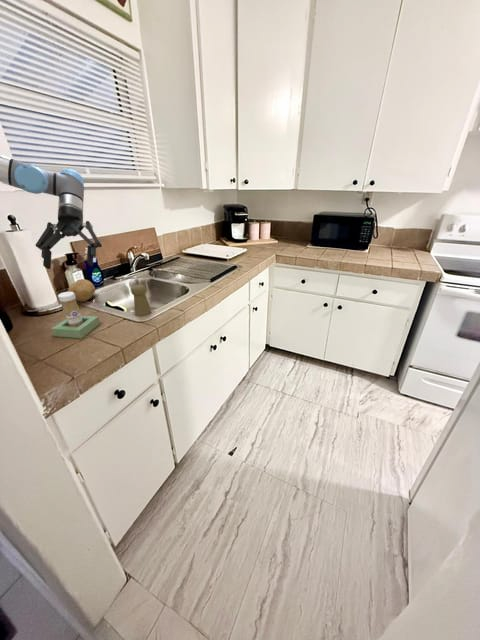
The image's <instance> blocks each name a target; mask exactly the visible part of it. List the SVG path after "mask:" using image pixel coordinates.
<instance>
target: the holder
mask: <svg viewBox="0 0 480 640" xmlns="http://www.w3.org/2000/svg"><path fill="white" fill-rule="evenodd" d="M81 317H82V321H83V324H81V325H80V326H79V327H69V324H68V322H67V320H66V318H65V319H64V320H62V321H60V322H59V323H57V324H56V325H54V326H53V327H51V332H52V334H53V336H54V337H58V338H59V337H60V338H73V339H83V338H84V337H85V336H87V335H88V334H89V333H90V332H92V331H93V330H95V328H97V327H98V326H99V325H100V324H101V322H100V318H99V316H97V315H96V316H95V315H82V314H81Z"/></svg>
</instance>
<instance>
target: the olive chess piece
mask: <svg viewBox="0 0 480 640" xmlns="http://www.w3.org/2000/svg"><path fill="white" fill-rule="evenodd" d="M130 291H131V294H132V295H133V304H134V305H133V306H134V315H135V316H138V317H142V316H147V315H149V314H150V313H152V309H151V307H150V303H149V301H148V298H147V295H146V294H147V288H146V286H145V285H143V284H136V285H133V286H132V287H131V289H130Z"/></svg>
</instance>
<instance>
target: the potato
mask: <svg viewBox="0 0 480 640" xmlns="http://www.w3.org/2000/svg"><path fill="white" fill-rule="evenodd" d="M67 292H74V294H75V297H76V298H75V299H76V302H82V303H84V302H86V301H88V300H90V299H92V298H93V296H94V294H95V293H96V287H95V285H94V284H93V282H91V281H90V280H89V279H84V278H80V279H78V280H76V281H74V282H73V283H71V284H70V285H69V287H67Z"/></svg>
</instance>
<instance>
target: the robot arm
mask: <svg viewBox="0 0 480 640" xmlns="http://www.w3.org/2000/svg"><path fill="white" fill-rule="evenodd" d="M0 182H2V183H1V184H4V185H7V186H10V187H14V188H17V189H20V190H22V191H25V192H27V193H31V194H35V195H39V194H42V193H43V194H46V195H51V196H54V197H58V205H57V208H58V209H57V223H52V222H50V221H48V222H47V224H46V228H45V230H44V231H43V232H42V234H41V235H40V237H39V239H37V241H36V243H35V244H34V246H35V247H36V248H37V249H39V250H40V251H41V258H42V259H43V261H42V263H43V267H45V268H46V269H47V270H51V268H52V254H53V253H52V251H51V249H52V248H53V247H55V246H56V245H57V244H58V243H59V242H60V241H61V240H62V239H65V237H77V236H79V237H80V238H82V240H83V241H85V243H87V244H88V245H87V246H86V247H87V248H86V264H87V265H88V266H89V267H91V268H93V267H94V258H95V257H97V248H102V247H103V245H102V243H101V241H100V240H99V238H98V237H97V235H96V233H95V231H94V229H93V228H94V227H93V224H92V223H91V222H90V220H86V221H85V222H84V199H85V197H84V195H85V185H84V184H85V182H84V178H83V176H82V175H81V174H80V173H79V172H78V171H76V170H73V169H69V168H68V169H65V168H64V169H62V170H61V171H60V172H53V171H49V170H46V169H43V168H40V167H38V166H36V165H33V164H30V163H26V162H23V161H20V160H17V159H14V158H11V157H8V156H5V155H2V154H0ZM84 228H85V229H86V230H87V231H88V233H89V235H90V236H91V238H92V240H93V241H94V242H93V241H91V239H90V238H89V237H88V236H87V235H86V234H85V233H83V230H84Z"/></svg>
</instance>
